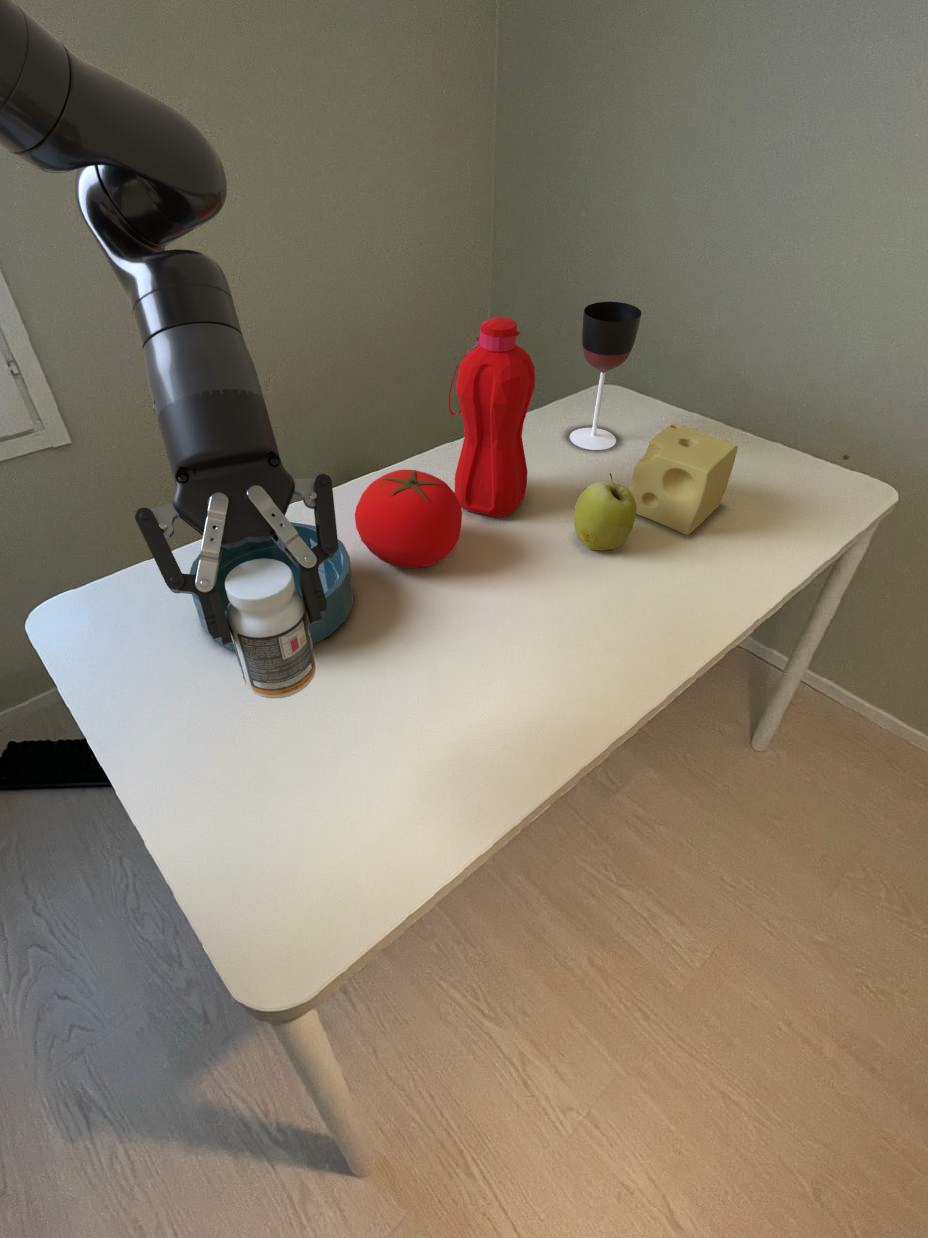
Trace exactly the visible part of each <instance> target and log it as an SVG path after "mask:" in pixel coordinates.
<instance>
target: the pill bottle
mask: <svg viewBox="0 0 928 1238" xmlns="http://www.w3.org/2000/svg"><path fill="white" fill-rule="evenodd" d="M225 589H226V593H227V597H228V600H229V602H230V603H229V605H228V608H227V612H226V618H227V622H228V625H229V629H230V633H231V636H232V640H233V644H234V647H235V651H234V652H235V654H236V658H237V662H238V665H239V669H240V673H241V675H242V676H241V677H242V680H243V682H244V684H245V685H246V686H245V687H247V689H248V690H249V691H250V692H252V693H253V694H254V695H257V696H259V697H260V698H265V699H273V700H275V699H278V700H279V699H285V698H289V697H292V696H294V695H297V694H298V693H301V692H302V691H303V690H304V689H306V688H307V687H308V686H309V685H310V684H311V682H312V681H313V679H314V678H315V675H316V671H317V665H316V664H317V662H316V656H315V651H314V650H315V649H314V644H313V643H312V639H311V634H310V629H309V624H308V618H307V613H306V607H305V602H304V599H303V597H302V595H301V594H300V593H299V591H298V590H297V589H295V583H294V578H293V574H292V571H291V569H290V568H289V567H288V566H287V565H286V564H284V563H283V562H281V561H278V560H274V559H255V560H251V561H247V562H245V563H242V564H240V565H238V566H237V567H235V568H234V569H232V570H231V571H230V572H229V574H228V575H227V577H226V579H225Z"/></svg>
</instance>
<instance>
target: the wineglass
mask: <svg viewBox="0 0 928 1238" xmlns="http://www.w3.org/2000/svg"><path fill="white" fill-rule="evenodd" d="M641 319H642V311H641V309H640V308H638V306H635V305H633V304H630V303H626V302H620V301H598V302H594V303H591V304H588V305H587V306H585V307H584V309H583V317H582V330H581V331H582V332H581V342H582V343H581V344H582V345H581V346H582V352H583V356H584V358H585V360H586V363H588V364H589V365H590V366H591V367H593V368H594V369H596V370H598V371H600V375H599V379H598V380H599V381H598V387H597V392H596V393H597V394H596V400H595V406H594V407H595V408H594V414H593V421H592V427H582V428H577V429H575V430H573V431H572V432H571V433H570V435H569V440H570V442H571V443H573V445H575V446H577V447H579V448H581V449H585V450H589V451H590V450H591V451H603V450H608V449H610V448H612V447H614V446H615V445H616V444H617V439H616V436H615V435H614V434H612V433H611V432H609V431H607V430H605V429H601V428H598V424H599V419H600V410H601V405H602V398H603V392H604V387H605V381H606V374H607V372H608V371H611V370H613V369H616V368H618V367H619V366H621V365H622V364H623V363H625V362H626V361H627V359H628V358H629V356H630V354H631V353H632V350H633V349H634V345H635V341H636V338H637V335H638V331H639V327H640V322H641Z"/></svg>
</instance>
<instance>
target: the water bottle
mask: <svg viewBox="0 0 928 1238" xmlns="http://www.w3.org/2000/svg"><path fill="white" fill-rule="evenodd" d="M479 331H480V332H479V335H477V336H476V341H475V343H476V344H475V345H474V346H472V347H470V348H469V349H468V350H467V351H466V352H465V354H464V355H463V357H462V358H461V359H460V360H459V361H458V363H457V364H456V366H455V368H454V371H453V375H452V379H451V383H450V386H449V387H450V388H449V392H448V410H449V413H450V414H451V416H453V417H457V416H459V415H460V414H461V417H462V422H463V442H462V446H461V450H460V454H459V458H458V462H457V466H456V469H455V473H454V493H455V495H456V497H457V499H458V501H459V503H460V506H461V509H463V510H465V511H468V512H471V513H476V514H477V513H478V514H482V515H485V516H487V517H489V516H490V517H493V518H500V517H504V516H505V517H506V516H509V515H511V514H512V513H514V512H515V511H516V510H518V509H519V507H520V504H521V503H522V501H523V500H524V497H525V495H526V491H527V484H528V465H527V460H526V453H525V447H524V441H523V429H524V422H525V420H526V416H527V413H528V410H529V407H530V404H531V400H532V398H533V395H534V391H535V388H536V387H535V386H536V370H535V369H536V368H535V364H534V363H533V360H532V358H531V356H530V354H529V353H528V352H527V351H526V350H525V349H524V348H522V347H521V346H519V345H518V344H516V343H517V342H516V341H517V337H519V336H520V334H521V331H518V323H517V322H516V320H515V319H512V318H509V317H504V316H497V317H496V316H495V317H492V318H489V319H486V320H484V321H483V322H482V323H480V329H479ZM459 364H460V365H459ZM458 367H459V369H458ZM457 369H458V374H457V379H456V384H455V390H456V395H457V399H458V403H459V407H460V409H459V412H458V413H457V414H456V413H454V412H453V410H452V408H451V393H452V388H453V383H454V380H455V375H456V372H457Z"/></svg>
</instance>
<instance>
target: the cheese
mask: <svg viewBox="0 0 928 1238" xmlns="http://www.w3.org/2000/svg"><path fill="white" fill-rule="evenodd" d="M738 447H739V445H738V444H737V443H735V442H732V441H730V440H726V439H723V438H720V437H717V436H713V435H710V434H707V433H704V432H700V431H697V430H695V429H692V428H690V427H687V426H685V425H681V424H678V423H676V422H672V423H670V424H669V425H668V426H666V427H665V428H663V429H662V430H661V431H659V432H658V433H657V434H656V435H654V436H653V437H652V438H651V439H650V440H649V441H648V445H647V449H646V451H645V454H644V455H643V456H642V457H641V458H640V459H639V460H638V461H637V462H636V463H635V464H634V468H633V471H632V477H631V478H632V479H633V483H632V484H631V486H630V487H629V488H627V489H628V490H629V491H630V492H631V493H632V495H633V497H634V500H635V503H636V515H638V516H641V517H644V518H646V519H648V520H651V521H654V522H656V523H658V524H661V525H663V526H665V527H667V528H670V529H672V530H673V531H676V532H678V533H681V534H683V535H686V536H689V535H690V534H692V532H693V531H695V530H696V529H697V528H698V527H699V526H700V525H701V524H703V522H704V521H705V520H706V519H707V518H708V517H709V516H710V515H711V514H712V513H713V512H714V511H715V510H716V509H717V508H719V507H720V505H721V503H722V500H723V498H724V495H725V493H726V490H727V487H728V484H729V481H730V477H731V474H732V471H733V468H734V465H735V461H736V457H737V453H738Z"/></svg>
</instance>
